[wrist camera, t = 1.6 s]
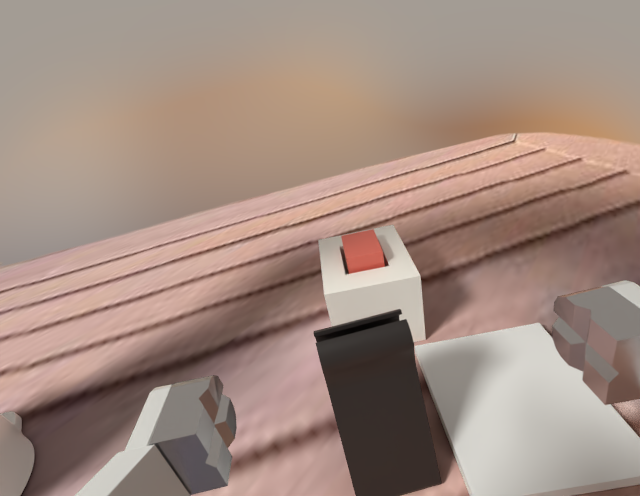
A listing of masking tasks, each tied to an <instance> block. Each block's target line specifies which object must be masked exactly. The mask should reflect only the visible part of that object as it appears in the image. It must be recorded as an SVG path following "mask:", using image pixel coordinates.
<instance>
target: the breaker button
mask: <svg viewBox="0 0 640 496" xmlns="http://www.w3.org/2000/svg"><path fill="white" fill-rule="evenodd" d="M341 238H342V243H343V248H344V253H345V259H346V263H347V267H348V272H349V274H351V273H356V272H361V271H366V270H371V269H376V268H381V267H385V264H384V257H383V251H382V249H381V246H380V244H379V241H378V239H377V236H376V234H375V232H374V229H372V230H367V231H362V232H357V233H352V234H348V235H343V236H341Z"/></svg>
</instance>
